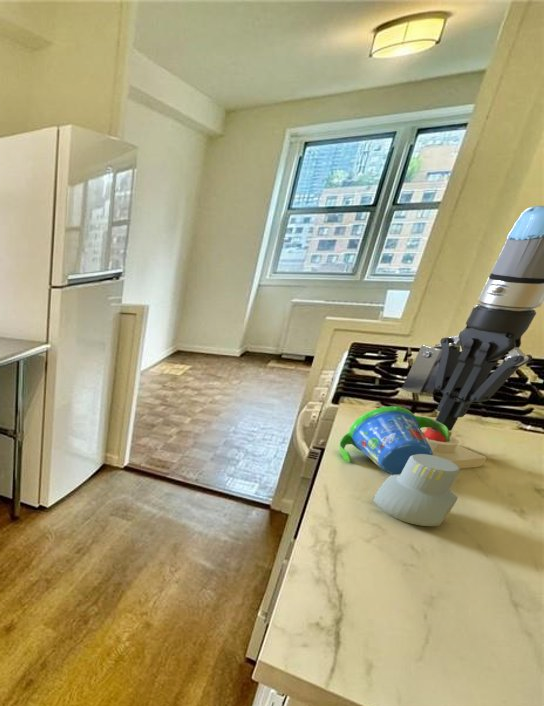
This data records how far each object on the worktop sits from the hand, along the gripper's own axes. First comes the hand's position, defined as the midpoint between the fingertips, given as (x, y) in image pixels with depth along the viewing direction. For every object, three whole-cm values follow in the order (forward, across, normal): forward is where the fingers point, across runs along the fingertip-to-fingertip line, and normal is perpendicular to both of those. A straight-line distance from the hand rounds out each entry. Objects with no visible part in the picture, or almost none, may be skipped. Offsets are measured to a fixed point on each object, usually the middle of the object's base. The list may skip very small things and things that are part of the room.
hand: (441, 429), depth 94 cm
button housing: (+6, 0, 0) cm, 6 cm away
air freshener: (+6, +16, -24) cm, 29 cm away
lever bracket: (+6, -26, +28) cm, 39 cm away
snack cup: (+2, +7, -14) cm, 16 cm away
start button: (+2, 0, 0) cm, 2 cm away
